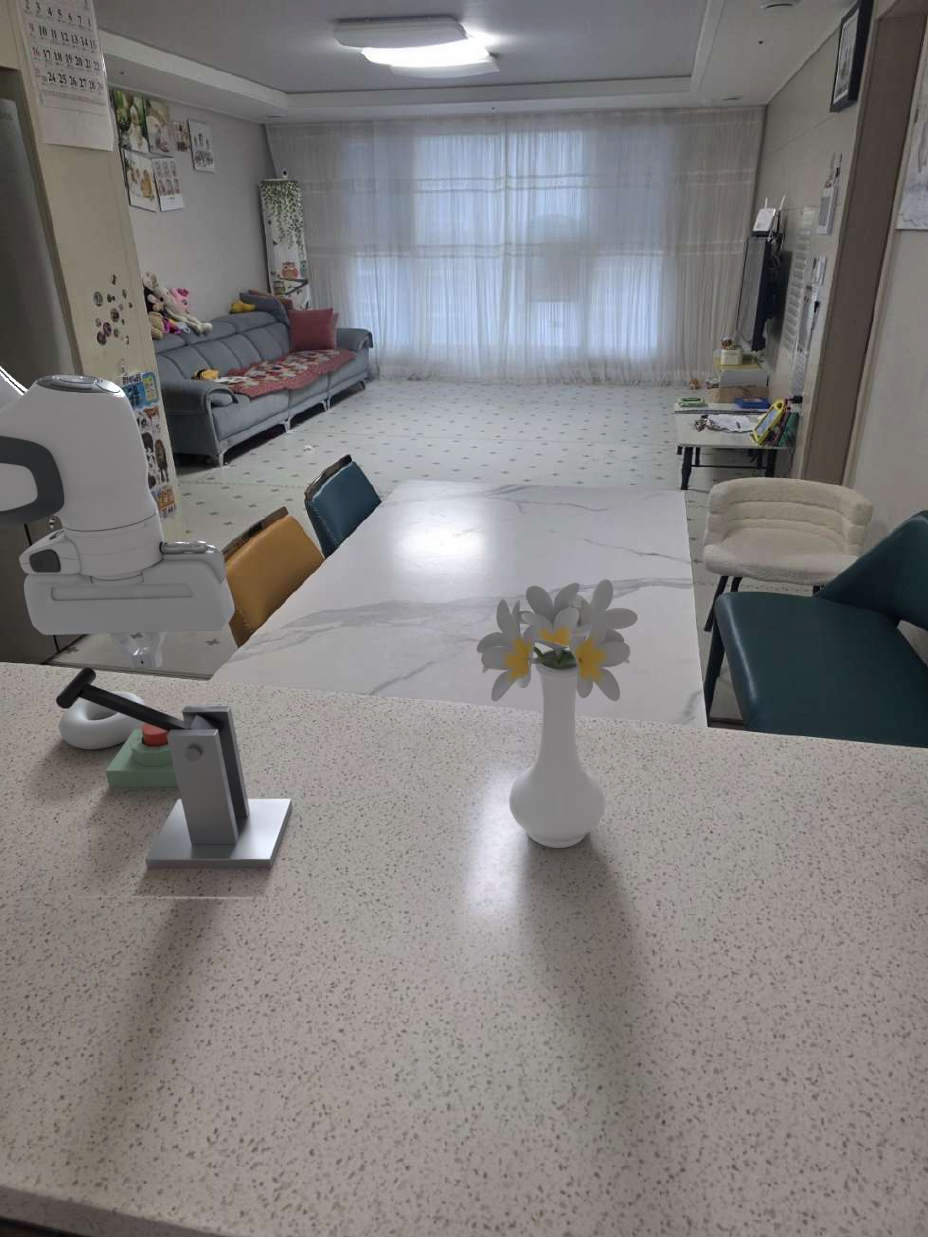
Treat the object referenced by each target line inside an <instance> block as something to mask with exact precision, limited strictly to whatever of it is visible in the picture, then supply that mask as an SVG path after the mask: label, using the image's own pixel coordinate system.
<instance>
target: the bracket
mask: <svg viewBox="0 0 928 1237" xmlns="http://www.w3.org/2000/svg"><path fill="white" fill-rule="evenodd" d="M181 713H182V719H183V721H185V722H188V723H191V722H192V721H193V719H194V717H195V716H196V715H197V716H200V717H202V718H205V719H207V720H210V721H212V722H215V723H218V724H220V725H223V726H224V728H223V731H222V733H221V736H220V738H219V733H218V730H170V732H169V733H168V735H167V739H168V744H169V748H170V752H171V757H172V761H173V766H174V770H175V774H176V779H177V783H178V787H177V788H178V791H179V796H180V798H177V800H176V802H175V803H174V805H173V807H172V808H171V811H170V812H169V814H168V816H167V818H166V820H165V822H164V824H163V825H162V826H161V829H160V831H159V832H158V834H157V837H156V838H155V839H154V842H153V844H152V846H151V847H150V849H149V851H148V853H147V855H146V856H145V859H144V861H145V866H146V869H149V870H150V869H152V870H153V869H155V870H156V869H157V870H158V869H159V870H160V869H163V870H165V869H169V870H172V869H173V870H175V869H176V870H177V869H179V870H181V869H182V870H183V869H184V870H185V869H186V870H187V869H191V870H192V869H194V870H195V869H198V870H200V869H203V870H204V869H205V870H207V869H209V870H210V869H211V870H215V869H216V870H218V869H220V870H222V869H227V870H228V869H229V870H234V869H235V870H237V869H239V870H240V869H241V870H243V869H244V870H246V869H248V870H249V869H250V870H251V869H252V870H255V869H256V870H259V869H262V870H265V869H267V870H270V869H272V868H273V866H274V863H275V861H276V857H277V854H278V851H279V848H280V846H281V843H282V839H283V838H284V834H285V831H286V828H287V825H288V822H289V819H290V816H291V813H292V810H293V808H294V807H293V801H292V798H248V794H247V789H246V782H245V778H244V772H243V767H242V763H241V761H242V760H241V757H240V756H241V755H240V750H239V745H238V739H237V734H236V729H235V723H234V717H233V712H232V706H231V705H198V706H197V705H195V706H194V705H192V706H191V705H187V706H184V708H183V709H182V711H181Z"/></svg>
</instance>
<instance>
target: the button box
mask: <svg viewBox="0 0 928 1237" xmlns="http://www.w3.org/2000/svg"><path fill="white" fill-rule="evenodd" d="M105 775H106V778H107V782H108V786H109V787H110V788H178V783H177V779H176V774H175V770H174V766H173V761H172V757H171V752H170V748H169V744H166V745H163V746H159V747H149V746H147V745H146V744H145V742H144V738H143V734H142V728H141V729H139V730H134V731H133V732H132V734H131V735H130V737H129V738H128V739H127V740H126V741H124V744H123V745H122V746H121V748H120V749H119V751H118V752H117V753H116V755H115V757H114V758H113V759H112V761H111V762H110V763H109V765H108V766H107V768H106V769H105Z"/></svg>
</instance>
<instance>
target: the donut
mask: <svg viewBox="0 0 928 1237" xmlns="http://www.w3.org/2000/svg"><path fill="white" fill-rule="evenodd" d="M109 692H111V693H113V694H116V695H119V696H121V697H124V698H126V699H129V700H131V701H134V702H137V703H139V704H142V705H144V706H147V705H146V703H145V701H144V700H143V699H142V698H141V697H140V696H138V695H137V694H135V693H132V692H129V691H128V692H127V691H124V690H123V691H122V690H111V691H109ZM144 724H145V722H142V721H140V720H137V719H134V718H132V717H129V716H127V715H124V714H121V713H119V712H116V711H114V710H111V709H108V708H106V707H103V706H101V705H98V704H95V703H93V702H90V701H88V700H85V699H83V698H81V699H80V700H79V699H78V700H77V701H76V702H75V703H74V704H73V705H72V706H71V707H70V708H68V709H65V712H63V714H62V715H61V717H60V721H59V723H58V730H59V733H60V736H61V738H62V740H64V741H65V742H66V743H67V744H69V745H70V746H72V747H75V748H78V749H82V750H99V749H108V748H110V747H114V746H117V745H121V744H122V743H125V742H126V741H127V739H128V738H129V737H130V735H131V734H132V732H133V731H134V730H139V729H141V728H142V726H143V725H144Z"/></svg>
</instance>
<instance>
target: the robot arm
mask: <svg viewBox="0 0 928 1237" xmlns="http://www.w3.org/2000/svg"><path fill="white" fill-rule="evenodd" d="M147 456H148V455H147V452H146V448H145V444H144V440H143V437H142V433H141V429H140V426H139V423H138V419H137V417H136V414H135V411H134V408H133V406H132V404H131V402H130V400H129V398H128V396H127V394H126V393H125V392H124V390H123V389H122V388H120V387H119V385H116V384H115V383H114V382H113V381H110V380H107V379H104V378H102V377H98V376H94V375H86V374H74V373H73V374H72V373H67V374H52V375H46V376H43V377H40V378H37V379H36V380H35V381H34V382H33V383H32V384H31V386H30V387H29V388H28V389H27V387H24V386H23V385H22V384H21V383H19V382H18V381H17V380H15V379H14V378H13V377H12V376H11V375H10V374H9V373H8V372H7V371H6V370H5V369H4V368H3V367H2V366H0V530H4V529H9V528H13V527H17V526H22V525H26V524H29V523H34V522H37V521H40V520H43V519H46V518H49V517H51V516H54V517H57V518H59V520H60V523H61V526H62V528H61V529H58V530H55V531H53V532H51V533H49V534H47V535H46V536H44V537H42V538H40V539H39V540H37V541H36V542H34V543H33V544H32V545H31V546H29V547H28V548H27V549H25V551H23V552H22V553H21V554H20V555H19V556H18V557H19V559H18V561H19V564H20V567H21V569H22V571H23V572H24V573H25V574H28V575H26V577H25V579H24V583H23V591H24V598H25V603H26V607H27V612H28V615H29V619H30V621H31V624H32V626H33V627H34V628H35V629H36V630H37V631H38V632H39V633H40V634H42V635H45V636H54V635H56V636H58V635H59V636H61V635H62V636H63V635H98V634H99V635H101V634H110V638H111V642H112V643H113V644H114V645H115V646H116V647H117V648H118V649H119V650H120V651H121V652H122V653H123V654H124V656H126V657H127V661H128V665H129V668H130V669H158V668H160V666H161V665H162V664H163V661H164V660H163V654H162V649H161V647H162V646H163V643H164V641H165V638H166V636H167V633H185V632H186V633H187V632H188V633H189V632H220V631H222V630H224V629H225V627H227V625H228V624H229V623H230V621H231V620H232V618H233V617H234V614H235V611H236V607H235V603H234V598H233V595H232V592H231V588H230V585H229V582H228V579H227V566H226V561H225V556H224V554H223V552H222V551H221V550H219V549H218V548H217V547H215V546H214V545H210V544H208V542H206V541H201V540H196V541H192V542H191V541H189V542H183V541H165V540H166V539H165V536H164V531H163V526H162V522H161V517H160V513H159V507H158V505H157V502H156V500H155V498H154V496H153V494H152V492H151V489H150V486H149V470H150V468H149V460H148V457H147ZM131 634H144V635H145V638H146V640H147V641H149V642H151V645H150V646H139V645H138V643H137V642H136V640H135V639H133V637H132V636H131Z"/></svg>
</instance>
